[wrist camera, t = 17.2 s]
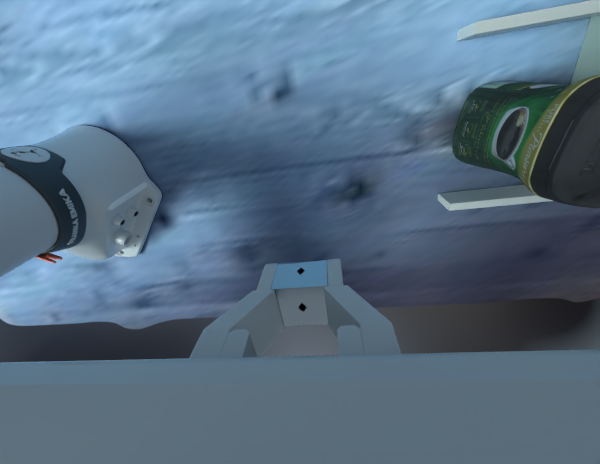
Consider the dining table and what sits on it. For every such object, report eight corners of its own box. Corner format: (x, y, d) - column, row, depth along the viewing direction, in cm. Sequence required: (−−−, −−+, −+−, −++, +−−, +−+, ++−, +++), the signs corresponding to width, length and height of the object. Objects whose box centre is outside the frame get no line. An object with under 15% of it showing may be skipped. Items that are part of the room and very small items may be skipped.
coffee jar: (502, 162, 35) (659, 223, 19) (443, 160, 35) (546, 218, 19) (534, 80, 30) (780, 67, 14) (466, 80, 31) (626, 66, 15)
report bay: (437, 199, 38) (449, 210, 35) (457, 30, 29) (476, 21, 25) (545, 189, 36) (568, 199, 33) (605, 3, 27) (648, -11, 23)
